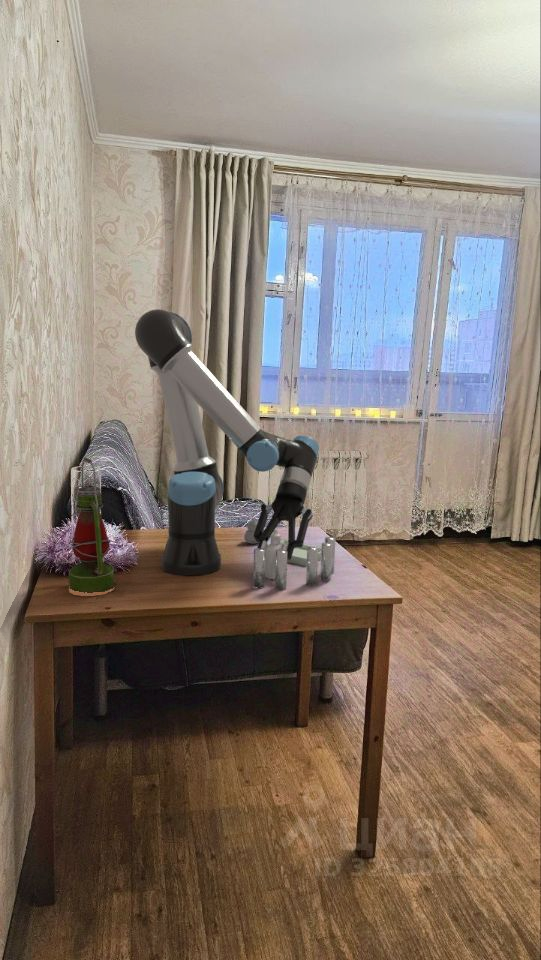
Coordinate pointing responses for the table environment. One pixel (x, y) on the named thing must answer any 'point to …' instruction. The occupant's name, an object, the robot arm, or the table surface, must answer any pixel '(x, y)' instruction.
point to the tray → (301, 554)
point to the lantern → (90, 543)
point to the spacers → (311, 569)
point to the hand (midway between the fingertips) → (269, 568)
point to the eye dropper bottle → (272, 555)
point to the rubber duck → (251, 532)
